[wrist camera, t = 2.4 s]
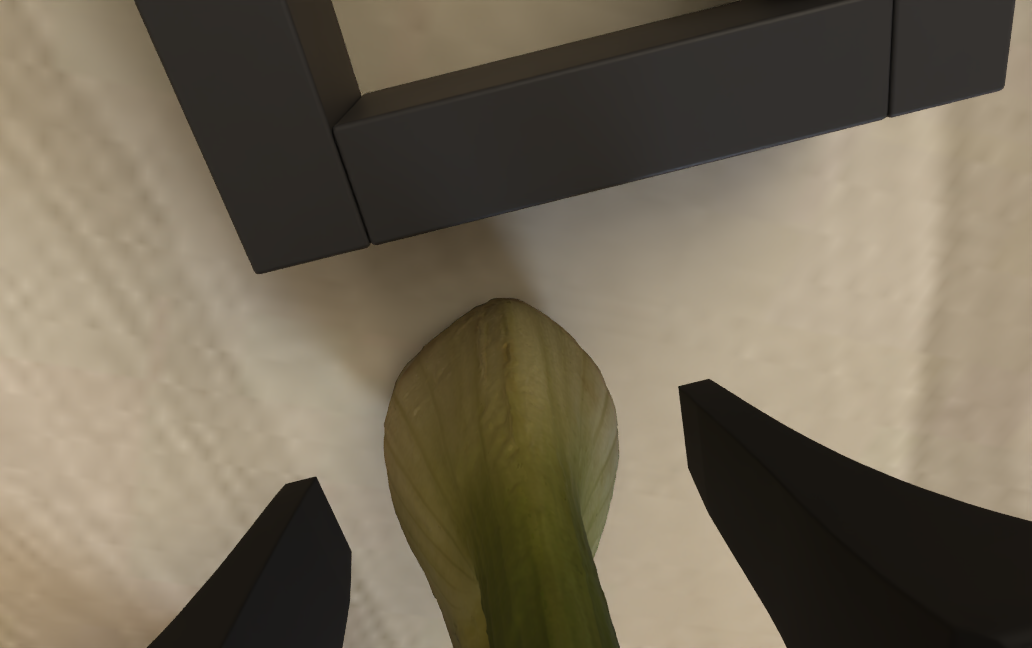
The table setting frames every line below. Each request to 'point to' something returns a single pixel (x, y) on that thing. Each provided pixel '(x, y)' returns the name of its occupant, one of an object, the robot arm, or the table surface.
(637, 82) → the holder
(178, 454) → the table surface
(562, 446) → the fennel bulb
